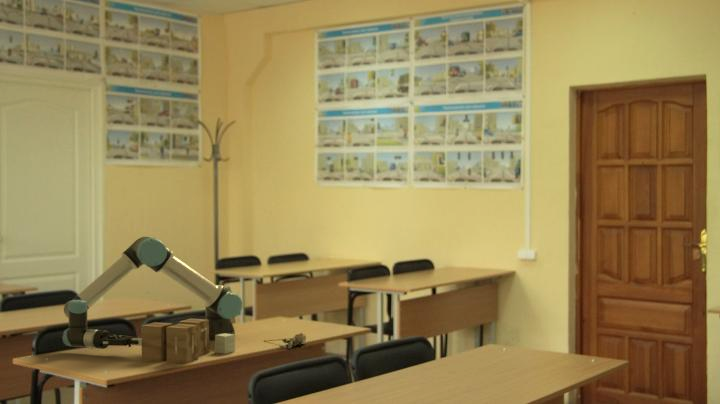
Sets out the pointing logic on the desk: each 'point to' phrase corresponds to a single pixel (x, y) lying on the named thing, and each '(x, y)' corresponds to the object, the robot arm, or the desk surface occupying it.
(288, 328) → the desk surface
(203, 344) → the block seven
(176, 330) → the block one
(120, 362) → the desk surface
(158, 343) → the plain block
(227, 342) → the product box
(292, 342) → the toy
